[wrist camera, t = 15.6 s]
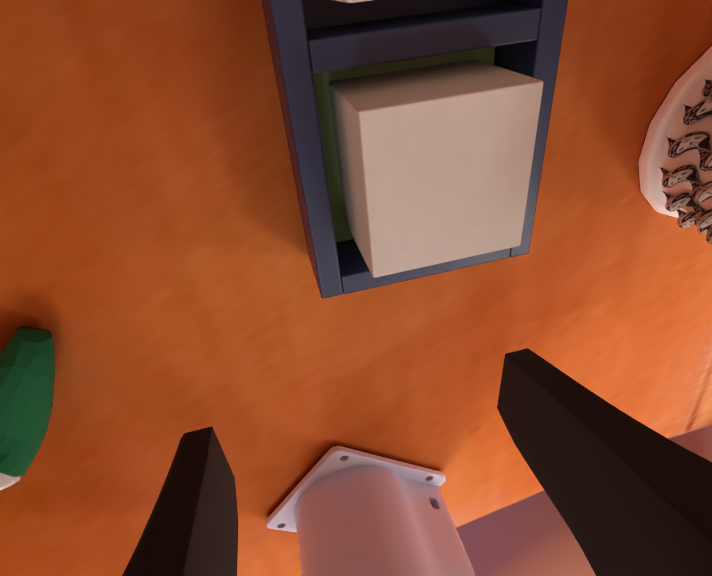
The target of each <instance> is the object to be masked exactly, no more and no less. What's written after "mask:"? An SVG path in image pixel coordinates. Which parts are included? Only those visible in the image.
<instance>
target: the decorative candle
mask: <svg viewBox="0 0 712 576" xmlns="http://www.w3.org/2000/svg"><path fill="white" fill-rule="evenodd" d="M638 163H639V177H640V191H641V193H642V194H643V195H644V197H645V198H646V199H647V201H648V202H649V203H650V205H651V206H652V208H653V209H654V210H655V211H657V212H659V213H662V214H666V215H669V216H673V217H676V218H678V222H677V224H678V226H679V227H681V228H686V227H689V226H691V225H694V224H695V225H696V226H698V228H697V229H698V232H699V233H701V234H707V236H706V240H707V242H708V243H710V244H712V46H711V47H710V48H709V49H708V50H707V51H706V52H705V53H704V54H703V55H702V56H701V57H700V58H699V59H698V60H697V61H696V62H695V63H694V64H693V65H692V66H691V67H690V68H689V69H688V70H687V71H686V72H685V73H684V74H683V75H682V76H681V77H680V78H679V79H678V80H677V81H676V82H675V84H674V85H673V87H672V89H671V90H670V92H669V93H668V95H667V97H666V98H665V100H664V101H663V103H662V105H661V106H660V108H659V110H658V111H657V113H656V114H655V116H654V118H653V119H652V121H651V122H650V125H649V128H648V131H647V135H646V138H645V141H644V145H643V148H642V151H641V155H640V158H639V161H638Z"/></svg>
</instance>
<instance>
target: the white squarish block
mask: <svg viewBox="0 0 712 576" xmlns="http://www.w3.org/2000/svg"><path fill="white" fill-rule="evenodd" d="M542 90H543V81H542V80H539V79H536V78H533V77H529V76H526V75H523V74H520V73H517V72H514V71H510V70H507V69H504V68H501V67H498V66H495V65H491V64H488V63H485V62H482V61H479V60H476V59H472V60H466V61H459V62H453V63H446V64H440V65H433V66H427V67H420V68H414V69H407V70H401V71H394V72H388V73H381V74H375V75H368V76H362V77H355V78H349V79H342V80H336V81H330V82H329V91H330V99H331V108H332V116H333V124H334V132H335V140H336V149H337V157H338V165H339V173H340V181H341V189H342V198H343V206H344V214H345V222H346V224H347V226H348V228H349V230H350V232H351V234H352V236H353V238H354V240H355V242H356V244H357V246H358V248H359V250H360V252H361V254H362V256H363V258H364V260H365V262H366V264H367V266H368V268H369V270H370V272H371V274H372V276H373V277H374V278H375V277H380V276H384V275H389V274H393V273H398V272H403V271H407V270H412V269H416V268H421V267H425V266H430V265H435V264H439V263H444V262H448V261H453V260H457V259H462V258H466V257H471V256H476V255H480V254H485V253H489V252H494V251H498V250H503V249H508V248H512V247H517V246H520V245H521V238H522V231H523V224H524V217H525V210H526V203H527V196H528V189H529V181H530V174H531V167H532V160H533V153H534V146H535V139H536V132H537V125H538V118H539V111H540V104H541V97H542Z"/></svg>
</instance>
